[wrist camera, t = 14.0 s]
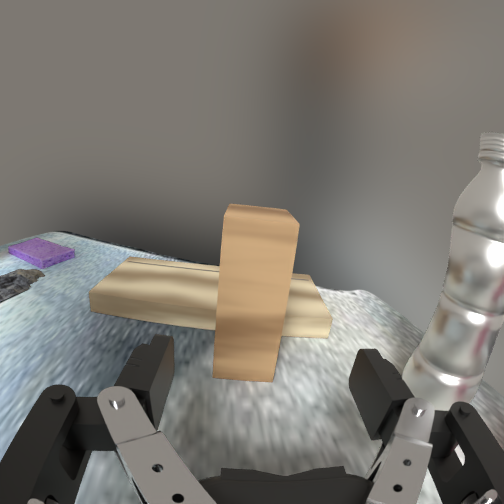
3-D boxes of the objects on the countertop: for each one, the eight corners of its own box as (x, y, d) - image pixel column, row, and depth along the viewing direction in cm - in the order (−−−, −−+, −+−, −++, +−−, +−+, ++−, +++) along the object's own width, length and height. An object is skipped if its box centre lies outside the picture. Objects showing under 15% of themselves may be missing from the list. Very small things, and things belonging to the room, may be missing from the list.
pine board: (327, 338, 28) (332, 318, 27) (90, 311, 27) (88, 291, 26) (306, 290, 39) (309, 274, 39) (130, 271, 38) (129, 256, 38)
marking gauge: (272, 382, 21) (299, 224, 18) (212, 377, 21) (224, 216, 18) (261, 289, 38) (272, 195, 35) (226, 286, 38) (234, 191, 35)
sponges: (42, 272, 35) (41, 260, 34) (8, 255, 38) (7, 244, 37) (76, 260, 41) (75, 248, 41) (37, 246, 44) (36, 236, 44)
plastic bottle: (385, 379, 22) (444, 130, 16) (448, 381, 21) (511, 156, 15) (398, 433, 16) (491, 117, 10) (471, 429, 14) (563, 156, 9)
